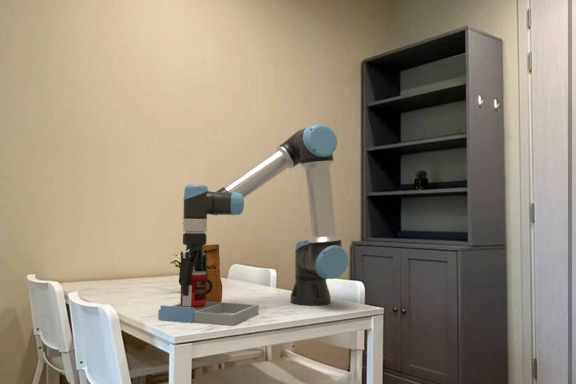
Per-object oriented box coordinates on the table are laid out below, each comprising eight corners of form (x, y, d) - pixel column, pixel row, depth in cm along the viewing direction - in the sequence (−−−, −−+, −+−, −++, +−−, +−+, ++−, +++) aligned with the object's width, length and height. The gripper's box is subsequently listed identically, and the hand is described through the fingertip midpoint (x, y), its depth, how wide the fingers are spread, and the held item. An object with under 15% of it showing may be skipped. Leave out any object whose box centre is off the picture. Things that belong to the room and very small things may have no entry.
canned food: (181, 304, 170) (182, 270, 171) (206, 304, 171) (207, 270, 171) (178, 308, 163) (179, 272, 163) (204, 308, 163) (205, 272, 164)
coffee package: (221, 308, 181) (222, 244, 182) (185, 308, 180) (186, 244, 181) (222, 303, 191) (223, 243, 192) (188, 303, 190) (189, 243, 191)
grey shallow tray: (258, 314, 170) (258, 300, 171) (232, 326, 151) (232, 310, 151) (189, 309, 178) (190, 296, 178) (157, 320, 158) (157, 305, 159)
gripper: (199, 231, 179) (197, 298, 178) (167, 232, 159) (165, 308, 158) (219, 232, 177) (217, 300, 175) (189, 233, 157) (187, 309, 156)
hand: (193, 304), depth 167 cm, fingers closed on canned food, 8 cm apart
